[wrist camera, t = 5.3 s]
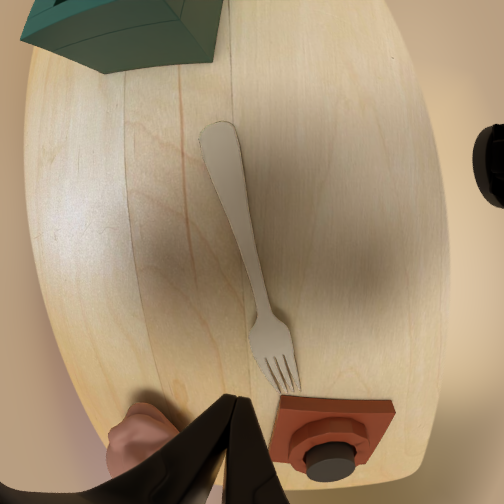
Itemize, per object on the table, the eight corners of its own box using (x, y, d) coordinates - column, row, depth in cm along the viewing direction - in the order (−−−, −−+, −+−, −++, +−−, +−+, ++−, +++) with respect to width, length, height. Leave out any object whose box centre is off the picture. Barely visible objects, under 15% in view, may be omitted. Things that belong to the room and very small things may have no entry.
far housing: (391, 400, 21) (401, 426, 18) (363, 452, 23) (367, 477, 20) (280, 394, 22) (278, 424, 19) (268, 448, 24) (265, 475, 21)
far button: (359, 440, 19) (362, 458, 17) (344, 465, 20) (346, 482, 18) (312, 439, 19) (312, 458, 17) (301, 464, 20) (301, 481, 18)
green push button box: (225, -11, 15) (188, -91, 6) (212, 62, 17) (155, -10, 7) (122, 5, 16) (57, -44, 7) (104, 74, 17) (18, 40, 8)
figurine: (190, 393, 23) (139, 501, 12) (212, 462, 26) (185, 548, 14) (109, 382, 25) (45, 462, 13) (142, 450, 27) (104, 522, 16)
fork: (242, 126, 20) (234, 115, 17) (307, 389, 22) (307, 409, 19) (205, 138, 20) (192, 128, 17) (273, 394, 22) (270, 414, 19)
